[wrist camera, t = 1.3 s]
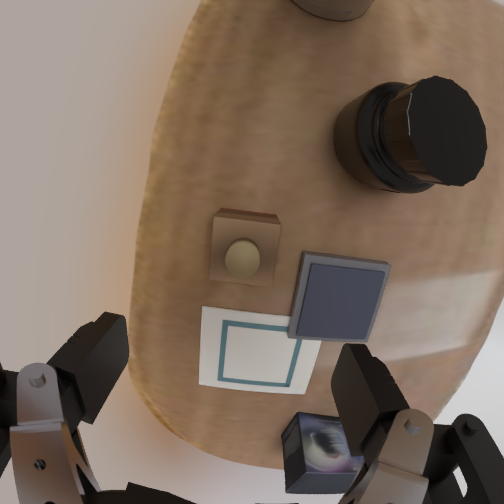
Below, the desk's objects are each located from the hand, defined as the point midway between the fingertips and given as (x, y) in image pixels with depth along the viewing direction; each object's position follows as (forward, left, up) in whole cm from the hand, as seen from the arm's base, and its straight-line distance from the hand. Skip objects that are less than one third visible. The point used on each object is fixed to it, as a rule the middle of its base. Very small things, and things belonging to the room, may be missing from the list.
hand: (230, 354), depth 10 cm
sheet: (+13, +3, -17) cm, 22 cm away
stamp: (0, 0, -18) cm, 18 cm away
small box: (+26, +14, -18) cm, 34 cm away
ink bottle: (-11, +11, -18) cm, 24 cm away
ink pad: (+5, +10, -17) cm, 21 cm away
